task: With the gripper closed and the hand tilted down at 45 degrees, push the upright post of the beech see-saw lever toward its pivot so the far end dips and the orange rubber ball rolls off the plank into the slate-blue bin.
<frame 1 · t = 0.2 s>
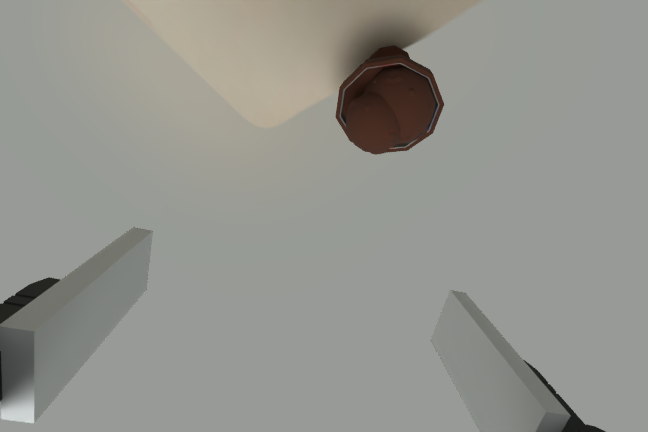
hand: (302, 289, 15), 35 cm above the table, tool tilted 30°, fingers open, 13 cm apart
ice cream bowl: (389, 68, 43), on the table
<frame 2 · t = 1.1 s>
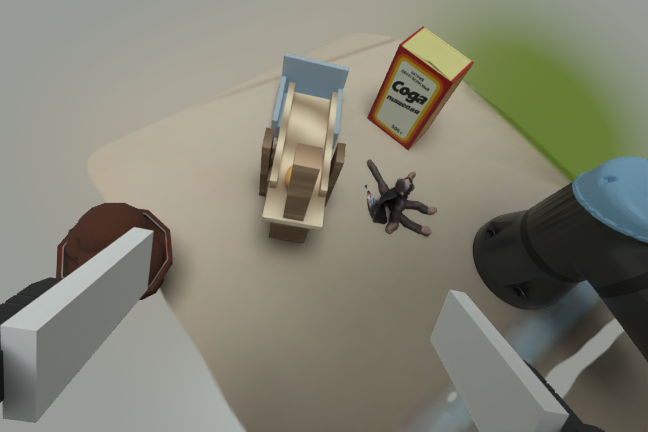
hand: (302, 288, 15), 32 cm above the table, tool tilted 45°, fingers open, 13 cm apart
ball: (300, 177, 41), point 12 cm above the table, touching lever
lever: (309, 127, 41), point 16 cm above the table, hinge at 0.0°, touching ball
ice cream bowl: (141, 278, 45), on the table
stand: (294, 192, 54), on the table
bin: (306, 118, 61), on the table
stuffed animal: (391, 201, 58), on the table
baking soda box: (396, 125, 65), on the table
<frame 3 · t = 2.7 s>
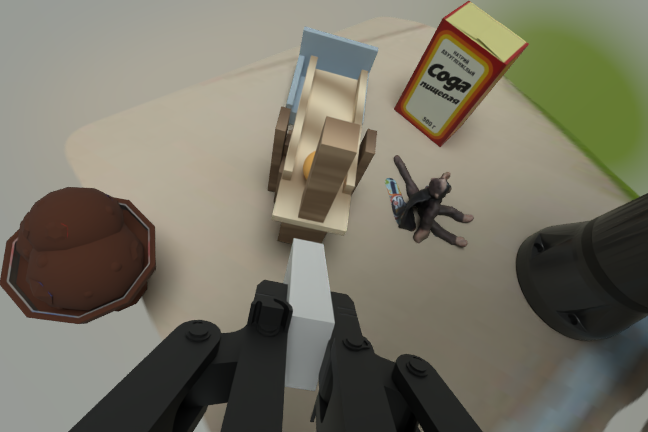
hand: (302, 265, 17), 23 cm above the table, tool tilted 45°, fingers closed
ball: (321, 168, 33), point 12 cm above the table, touching lever
lever: (336, 105, 33), point 15 cm above the table, hinge at 0.0°, touching ball
ice cream bowl: (119, 285, 37), on the table
stand: (308, 189, 46), on the table
bin: (324, 106, 53), on the table
stuffed animal: (420, 205, 50), on the table
baking soda box: (427, 118, 57), on the table
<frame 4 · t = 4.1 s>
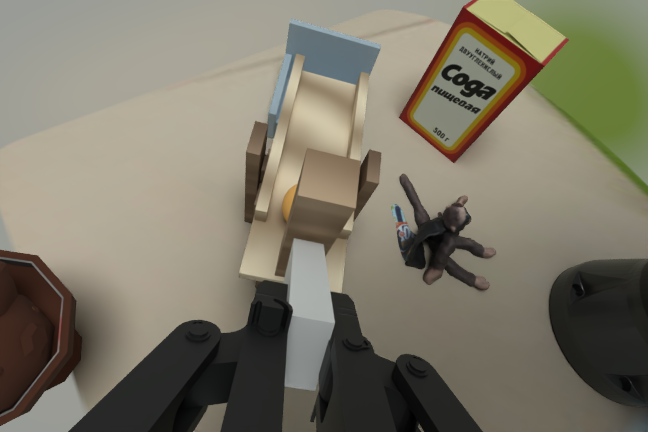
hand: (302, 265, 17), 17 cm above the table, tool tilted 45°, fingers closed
ball: (307, 207, 24), point 12 cm above the table, touching lever
lever: (326, 121, 24), point 15 cm above the table, hinge at 0.1°, touching ball, gripper
ice cream bowl: (43, 355, 28), on the table
stand: (295, 219, 37), on the table
bin: (316, 114, 45), on the table
stuffed animal: (431, 235, 41), on the table
baking soda box: (437, 129, 48), on the table
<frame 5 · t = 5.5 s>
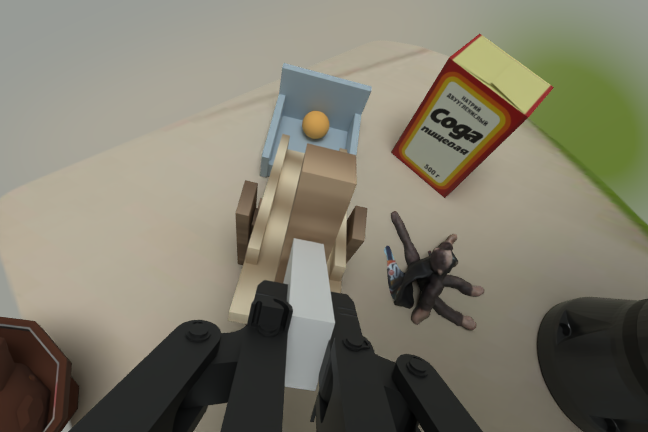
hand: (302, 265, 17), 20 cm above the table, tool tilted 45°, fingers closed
ball: (315, 124, 45), point 2 cm above the table, tilted 58°, touching bin
lever: (315, 168, 26), point 15 cm above the table, hinge at 21.5°, touching gripper
ice cream bowl: (42, 404, 29), on the table
stand: (287, 260, 38), on the table
bin: (309, 151, 46), on the table
stuffed animal: (421, 273, 42), on the table
baking soda box: (429, 162, 49), on the table
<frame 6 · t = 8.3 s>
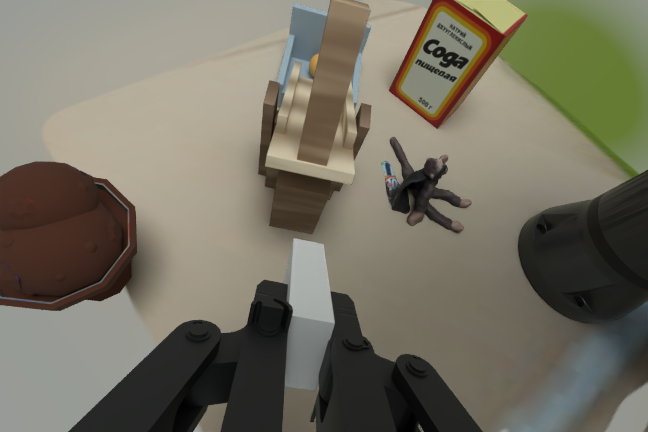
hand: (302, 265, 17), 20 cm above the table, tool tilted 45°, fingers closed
ball: (321, 66, 50), point 2 cm above the table, tilted 35°, touching bin
lever: (328, 62, 32), point 15 cm above the table, hinge at 24.0°
ice cream bowl: (101, 273, 34), on the table
stand: (301, 172, 44), on the table
bin: (316, 87, 51), on the table
stuffed animal: (416, 188, 48), on the table
baking soda box: (423, 100, 55), on the table
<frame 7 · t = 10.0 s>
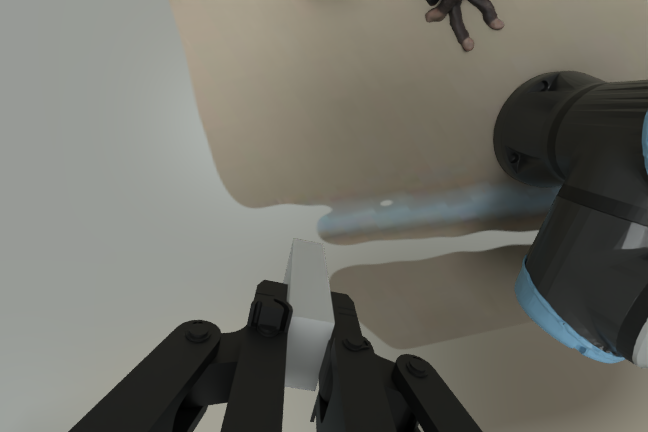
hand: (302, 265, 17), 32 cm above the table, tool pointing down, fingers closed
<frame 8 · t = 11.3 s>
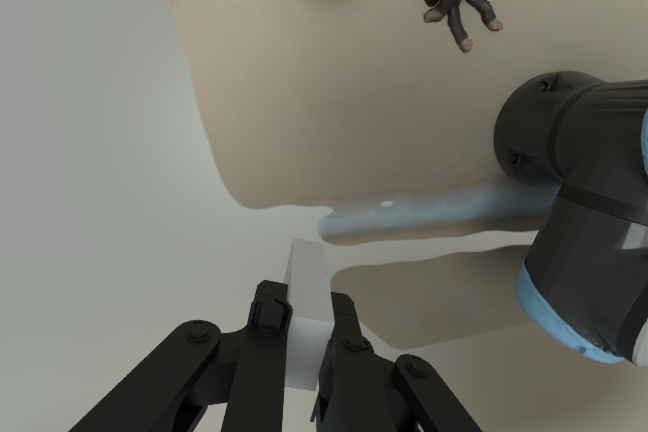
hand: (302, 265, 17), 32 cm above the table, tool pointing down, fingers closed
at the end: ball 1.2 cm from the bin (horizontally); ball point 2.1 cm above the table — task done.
